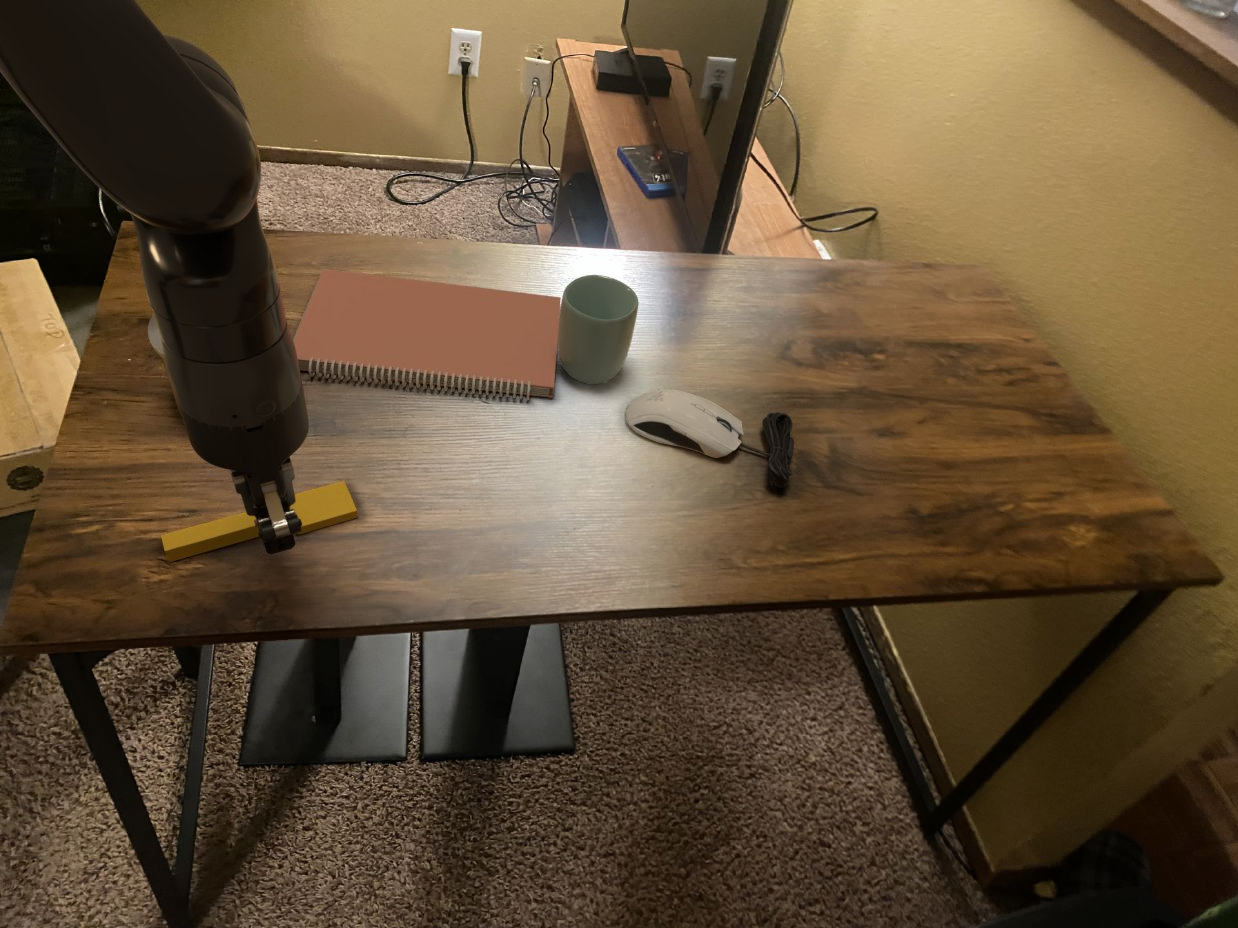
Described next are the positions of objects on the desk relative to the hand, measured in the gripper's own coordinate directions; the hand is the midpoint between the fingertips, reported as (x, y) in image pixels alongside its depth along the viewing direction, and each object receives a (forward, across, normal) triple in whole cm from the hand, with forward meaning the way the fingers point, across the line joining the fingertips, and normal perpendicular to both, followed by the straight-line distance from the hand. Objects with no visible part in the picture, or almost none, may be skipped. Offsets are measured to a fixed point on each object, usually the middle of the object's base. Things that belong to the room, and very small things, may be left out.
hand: (279, 544), depth 66 cm
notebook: (+5, -25, +22) cm, 33 cm away
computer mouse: (+5, -1, +43) cm, 43 cm away
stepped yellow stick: (+4, -6, 0) cm, 7 cm away
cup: (+5, -15, +36) cm, 39 cm away
